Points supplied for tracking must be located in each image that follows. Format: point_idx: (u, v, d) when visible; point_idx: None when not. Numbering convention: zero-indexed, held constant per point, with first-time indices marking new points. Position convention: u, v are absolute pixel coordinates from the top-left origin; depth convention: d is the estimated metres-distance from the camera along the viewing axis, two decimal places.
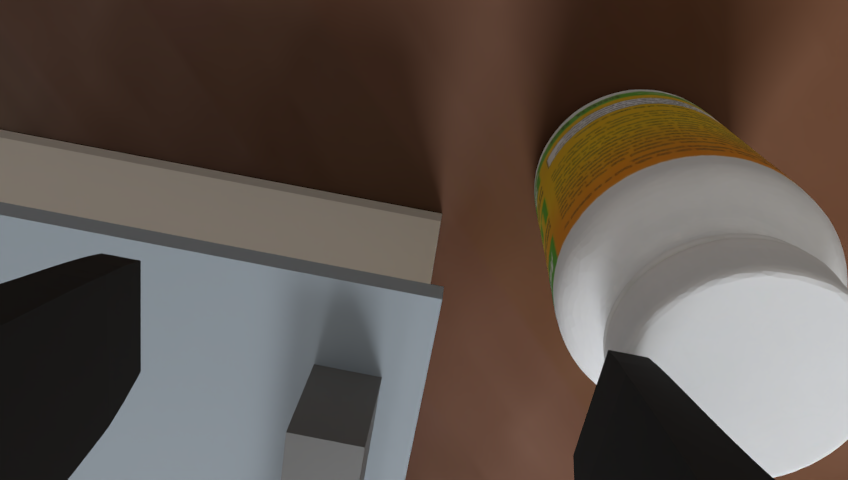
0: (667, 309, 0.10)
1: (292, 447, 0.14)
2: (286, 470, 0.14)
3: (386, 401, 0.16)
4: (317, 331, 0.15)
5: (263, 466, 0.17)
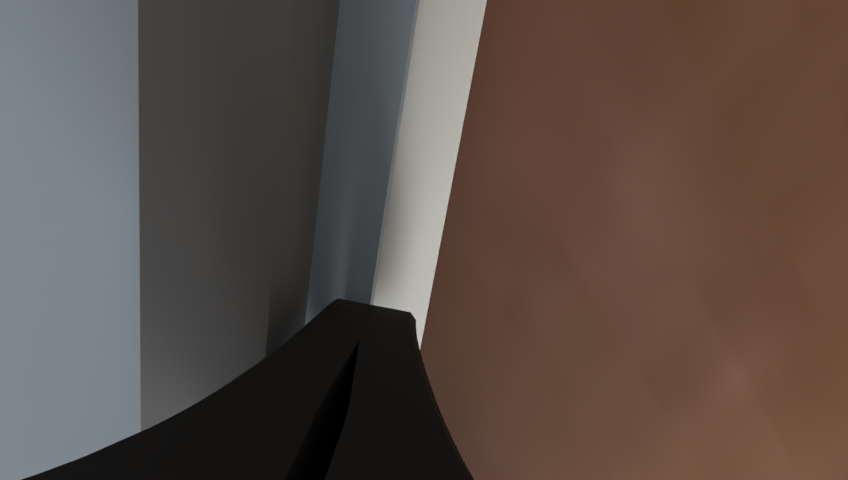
0: None
1: None
2: None
3: None
4: None
5: None
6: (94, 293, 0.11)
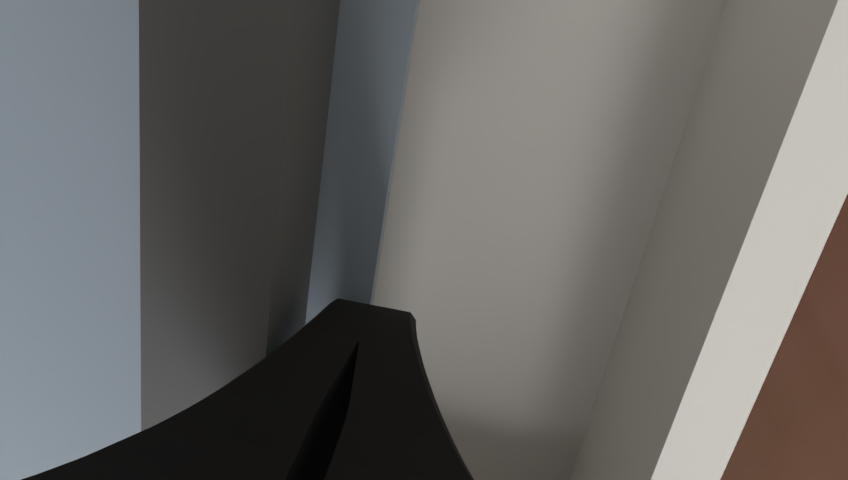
0: None
1: None
2: None
3: None
4: None
5: None
6: (94, 294, 0.11)
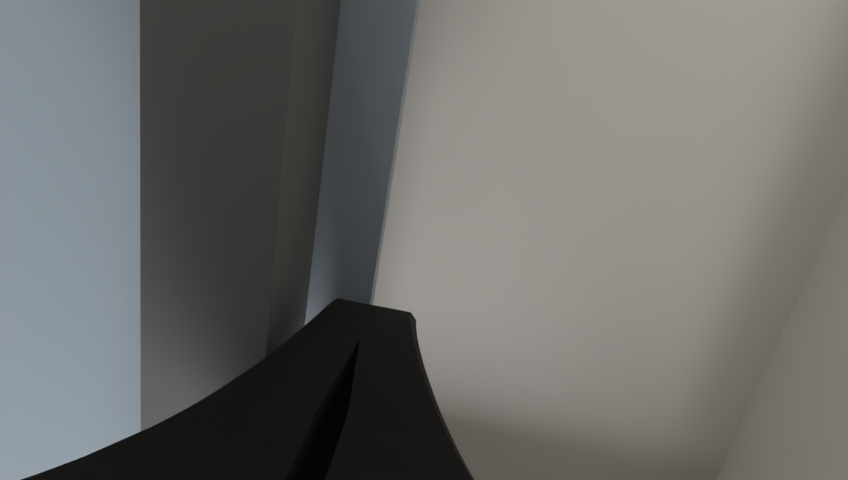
0: None
1: None
2: None
3: None
4: None
5: None
6: (94, 292, 0.11)
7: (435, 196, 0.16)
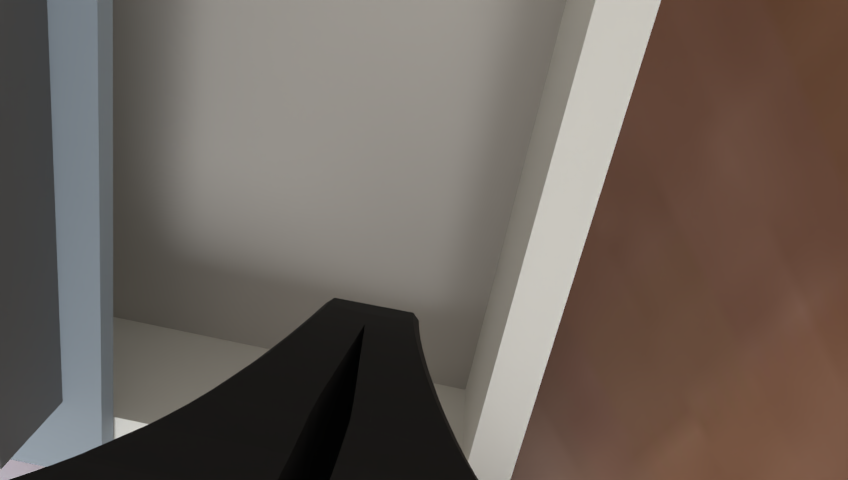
0: None
1: None
2: None
3: None
4: None
5: None
6: None
7: (223, 76, 0.19)
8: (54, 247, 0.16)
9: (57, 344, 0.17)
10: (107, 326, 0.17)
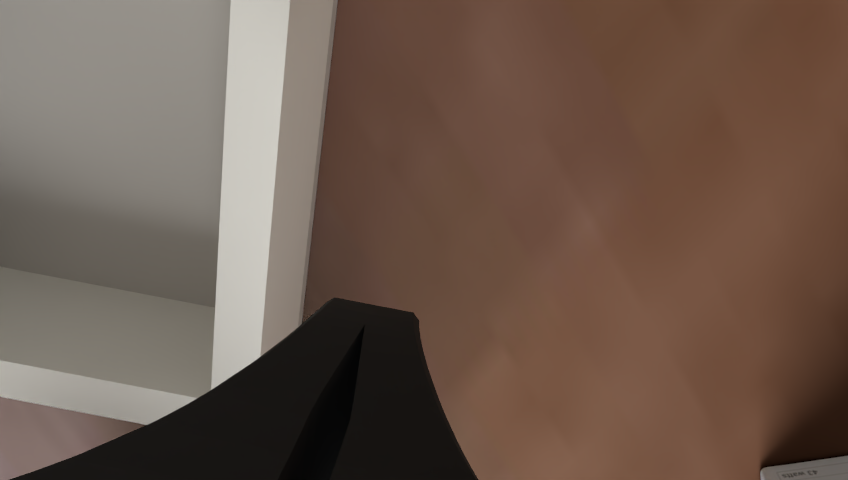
0: None
1: None
2: None
3: None
4: None
5: None
6: None
7: None
8: None
9: None
10: None
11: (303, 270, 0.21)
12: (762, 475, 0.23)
